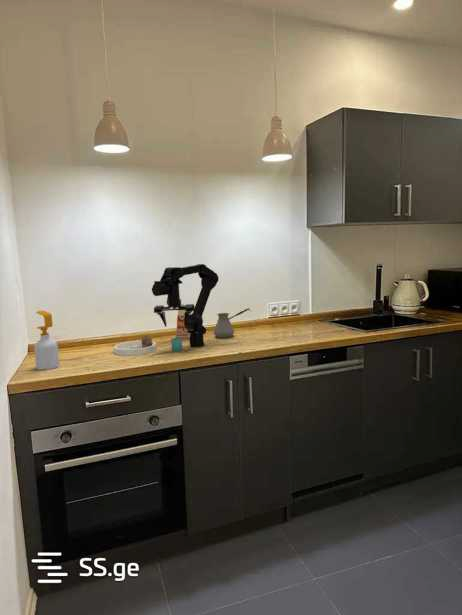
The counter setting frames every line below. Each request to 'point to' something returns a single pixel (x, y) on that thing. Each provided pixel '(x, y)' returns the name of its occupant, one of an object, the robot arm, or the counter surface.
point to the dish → (133, 348)
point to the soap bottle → (46, 346)
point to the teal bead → (176, 344)
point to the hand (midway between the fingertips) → (175, 326)
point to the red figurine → (182, 326)
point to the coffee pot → (225, 325)
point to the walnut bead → (146, 341)
